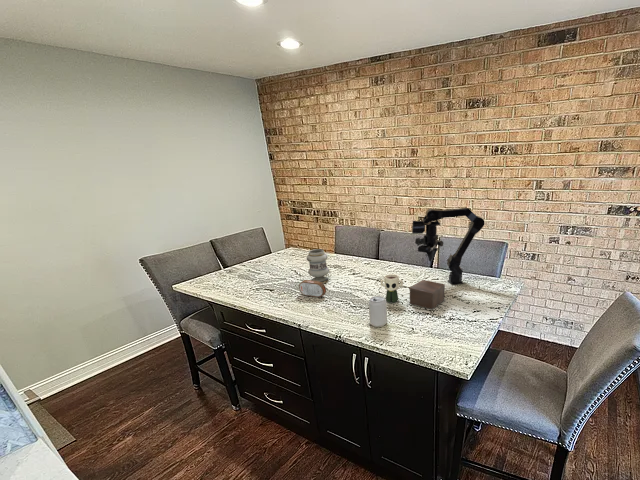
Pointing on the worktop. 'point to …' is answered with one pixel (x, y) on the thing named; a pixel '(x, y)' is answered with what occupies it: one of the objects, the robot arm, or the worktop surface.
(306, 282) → the tin
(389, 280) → the character mug
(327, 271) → the apothecary jar
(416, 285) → the chest lid
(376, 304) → the can
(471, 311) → the worktop surface
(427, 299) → the box
